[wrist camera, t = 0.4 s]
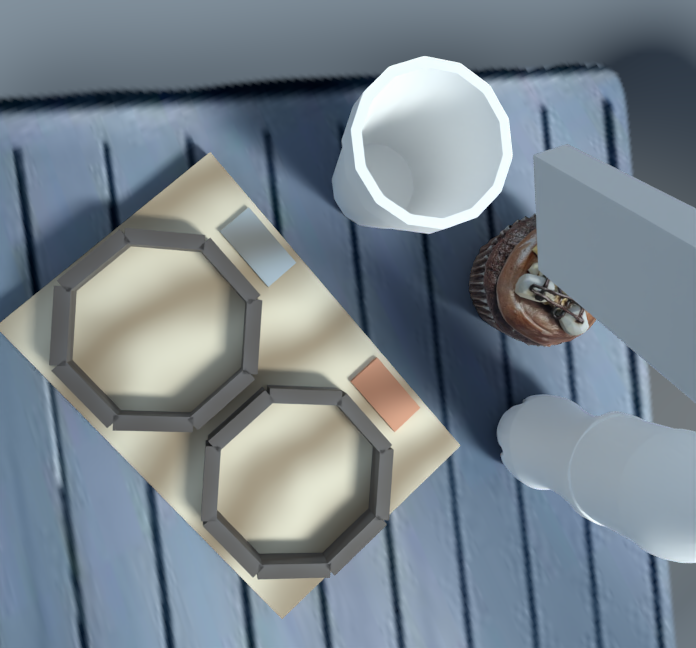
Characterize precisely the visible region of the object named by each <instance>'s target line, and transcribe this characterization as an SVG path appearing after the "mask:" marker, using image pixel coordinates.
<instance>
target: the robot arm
mask: <svg viewBox="0 0 696 648" xmlns="http://www.w3.org/2000/svg"><path fill="white" fill-rule="evenodd" d="M533 159H534V182H535V204H536V227H537V249H538V270H539V271H540V272H541V273H543V274H544V275H545V276H546V277H547V278H548V279H550V280H551V281H552V282H553V283H554V284H555V285H557V286H558V287H559V288H560V289H561V290H563V291H564V292H565V293H566V294H567V295H568V296H570V297H571V298H572V299H573V300H574V301H575V302H577V303H578V304H579V305H580V306H581V307H583V308H584V309H585V310H586V311H587V312H588V313H590V314H591V315H592V316H593V317H594V318H595V319H597V320H598V321H599V322H600V323H601V324H603V325H604V326H605V327H606V328H607V329H608V330H610V331H611V332H612V333H613V334H614V335H616V336H617V337H618V338H619V339H620V340H621V341H623V342H624V343H625V344H626V345H627V346H628V347H630V348H631V349H632V350H633V351H634V352H636V353H637V354H638V355H639V356H640V357H641V358H643V359H644V360H645V361H646V362H647V363H648V364H650V365H651V366H652V367H653V368H654V369H656V370H657V371H658V372H659V373H660V374H661V375H663V376H664V377H665V378H666V379H668V380H669V381H670V382H671V383H672V384H673V385H674V386H676V387H677V388H678V389H679V390H680V391H681V392H683V393H684V394H685V395H686V396H687V397H689V398H690V399H691V400H692V401H693V402H694V403H696V208H694V207H692V206H690V205H688V204H686V203H684V202H682V201H680V200H678V199H676V198H674V197H672V196H670V195H668V194H666V193H664V192H662V191H660V190H658V189H656V188H654V187H652V186H650V185H648V184H646V183H644V182H642V181H640V180H638V179H636V178H634V177H632V176H630V175H628V174H626V173H624V172H622V171H620V170H618V169H616V168H614V167H612V166H610V165H608V164H606V163H604V162H602V161H600V160H598V159H596V158H594V157H592V156H590V155H588V154H586V153H584V152H582V151H581V150H579V149H577V148H575V147H573V146H571V145H569V144H565V145H562V146H559V147H556V148H553V149H550V150H547V151H544V152H541V153H537V154H534V155H533Z"/></svg>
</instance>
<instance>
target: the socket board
mask: <svg viewBox="0 0 696 648" xmlns="http://www.w3.org/2000/svg"><path fill="white" fill-rule="evenodd" d="M0 332H1V333H2V334H3V335H4V336H5V337H6V338H7V339H8V340H9V341H10V342H11V343H12V344H13V345H14V346H15V347H16V348H17V349H18V350H19V351H20V352H21V353H22V354H23V355H24V356H25V357H26V358H27V359H28V360H29V361H30V362H31V363H32V364H33V365H34V366H35V367H36V368H37V369H38V370H39V371H40V372H41V374H42V375H43V376H44V377H45V378H46V379H47V380H48V381H49V382H50V383H51V384H52V385H53V386H54V387H55V388H56V389H57V390H58V391H59V392H60V393H61V394H62V395H63V396H64V397H65V398H66V399H67V400H68V401H69V402H70V403H71V404H72V405H73V406H74V407H75V408H76V409H77V410H78V411H79V412H80V413H81V414H82V415H83V416H84V417H85V418H86V419H87V420H88V421H89V422H90V424H91V425H92V426H93V427H94V428H95V429H96V430H97V431H98V432H99V433H100V434H101V435H102V436H103V437H104V438H105V439H106V440H107V441H108V442H109V443H110V444H111V445H112V446H113V447H114V448H115V449H116V450H117V451H118V452H119V453H120V454H121V455H122V456H123V457H124V458H125V459H126V460H127V461H128V462H129V463H130V464H131V465H132V466H133V467H134V468H135V469H136V470H137V471H138V472H139V474H140V475H141V476H142V477H143V478H144V479H145V480H146V481H147V482H148V483H149V484H150V485H151V486H152V487H153V488H154V489H155V490H156V491H157V492H158V493H159V494H160V495H161V496H162V497H163V498H164V499H165V500H166V501H167V502H168V503H169V504H170V505H171V506H172V507H173V508H174V509H175V510H176V511H177V512H178V513H179V514H180V515H181V516H182V517H183V518H184V519H185V520H186V521H187V523H188V524H189V525H190V526H191V527H192V528H193V529H194V530H195V531H196V532H197V533H198V534H199V535H200V536H201V537H202V538H203V539H204V540H205V541H206V542H207V543H208V544H209V545H210V546H211V547H212V548H213V549H214V550H215V551H216V552H217V553H218V554H219V555H220V556H221V557H222V558H223V559H224V560H225V561H226V562H227V563H228V564H229V565H230V566H231V567H232V568H233V569H234V570H235V571H236V573H237V574H238V575H239V576H240V577H241V578H242V579H243V580H244V581H245V582H246V583H247V584H248V585H249V586H250V587H251V588H252V589H253V590H254V591H255V592H256V593H257V594H258V595H259V596H260V597H261V598H262V599H263V600H264V601H265V602H266V603H267V604H268V605H269V606H270V607H271V608H272V609H273V610H274V611H275V612H276V613H277V614H278V615H279V616H280V617H281V618H282V619H283V618H284V617H285V616H286V615H287V614H288V613H289V612H290V611H291V610H292V609H293V608H294V607H295V606H296V605H297V604H298V603H299V602H300V601H301V600H302V599H303V598H304V597H305V596H306V595H307V594H308V593H309V592H310V591H311V590H312V589H313V588H315V587H316V586H317V585H318V584H319V583H320V582H321V581H322V580H323V579H324V578H330V572H332V573H333V574H334V575H336V574H337V573H338V572H339V571H340V570H341V569H342V568H343V567H344V566H345V565H346V564H347V563H348V562H349V561H350V560H351V559H352V558H353V557H354V556H355V555H356V554H357V553H358V552H359V551H360V550H361V549H362V548H363V547H365V546H366V545H367V544H368V543H369V542H370V541H371V540H372V539H373V538H374V537H375V536H376V535H377V534H378V533H379V532H380V531H381V530H382V529H383V528H384V527H385V526H386V525H387V524H386V523H385V522H384V521H383V520H389V515H390V514H391V513H392V512H393V511H394V510H395V509H396V508H397V507H398V506H399V505H400V504H401V503H402V502H403V501H404V500H405V499H406V498H407V497H408V496H409V495H410V494H411V493H412V492H413V491H414V490H415V489H416V488H417V487H418V486H419V485H420V484H421V483H423V482H424V481H425V480H426V479H427V478H428V477H429V476H430V475H431V474H432V473H433V472H434V471H435V470H436V469H437V468H438V467H439V466H440V465H441V464H442V463H443V462H444V461H445V460H446V459H447V458H448V457H449V456H450V455H451V454H452V453H453V452H454V451H455V450H456V449H457V448H459V447H460V445H459V443H458V442H457V441H456V440H455V439H454V438H453V436H452V435H451V434H450V433H449V432H448V431H447V429H446V428H445V427H444V426H443V425H442V424H441V422H440V421H439V420H438V419H437V418H436V417H435V415H434V414H433V413H432V412H431V411H430V409H429V408H428V407H427V406H426V405H425V404H424V402H423V401H422V400H421V399H420V398H419V397H418V395H417V394H416V393H415V392H414V391H413V390H412V388H411V387H410V386H409V385H408V384H407V382H406V381H405V380H404V379H403V378H402V377H401V375H400V374H399V373H398V372H397V371H396V370H395V368H394V367H393V366H392V365H391V364H390V363H389V361H388V360H387V359H386V358H385V357H384V356H383V354H382V353H381V352H380V351H379V350H378V348H377V347H376V346H375V345H374V344H373V343H372V341H371V340H370V339H369V338H368V337H367V336H366V334H365V333H364V332H363V331H362V330H361V329H360V327H359V326H358V325H357V324H356V323H355V321H354V320H353V319H352V318H351V317H350V316H349V314H348V313H347V312H346V311H345V310H344V309H343V307H342V306H341V305H340V304H339V303H338V302H337V300H336V299H335V298H334V297H333V296H332V295H331V293H330V292H329V291H328V290H327V289H326V287H325V286H324V285H323V284H322V283H321V282H320V280H319V279H318V278H317V277H316V276H315V275H314V273H313V272H312V271H311V270H310V269H309V268H308V266H307V265H306V264H305V263H304V262H303V261H302V259H301V258H300V257H299V256H298V255H297V253H296V252H295V251H294V250H293V249H292V248H291V246H290V245H289V244H288V243H287V242H286V241H285V239H284V238H283V237H282V236H281V235H280V234H279V232H278V231H277V230H276V229H275V228H274V226H273V225H272V224H271V223H270V222H269V221H268V219H267V218H266V217H265V216H264V215H263V214H262V212H261V211H260V210H259V209H258V208H257V207H256V205H255V204H254V203H253V202H252V201H251V200H250V198H249V197H248V196H247V195H246V194H245V192H244V191H243V190H242V189H241V188H240V187H239V185H238V184H237V183H236V182H235V181H234V180H233V178H232V177H231V176H230V175H229V174H228V173H227V171H226V170H225V169H224V168H223V167H222V165H221V164H220V163H219V162H218V161H217V160H216V158H215V157H214V156H213V155H212V154H211V153H208V154H207V155H206V156H205V157H203V158H202V159H201V160H200V161H198V162H197V163H196V164H195V165H194V166H192V167H191V168H190V169H189V170H187V171H186V172H185V173H184V174H182V175H181V176H180V177H179V178H178V179H176V180H175V181H174V182H173V183H171V184H170V185H169V186H168V187H166V188H165V189H164V190H163V191H162V192H160V193H159V194H158V195H157V196H155V197H154V198H153V199H152V200H150V201H149V202H148V203H147V204H146V205H144V206H143V207H142V208H141V209H139V210H138V211H137V212H136V213H134V214H133V215H132V216H131V217H130V218H128V219H127V220H126V221H125V222H123V223H122V224H121V225H120V226H118V227H117V228H116V229H115V230H114V231H112V232H111V233H110V234H109V235H107V236H106V237H105V238H104V239H102V240H101V241H100V242H99V243H98V244H96V245H95V246H94V247H93V248H91V249H90V250H89V251H88V252H86V253H85V254H84V255H83V256H82V257H80V258H79V259H78V260H77V261H75V262H74V263H73V264H72V265H70V266H69V267H68V268H67V269H66V270H64V271H63V272H62V273H61V274H59V275H58V276H57V277H56V278H54V279H53V280H52V281H51V282H50V283H48V284H47V285H46V286H45V287H43V288H42V289H41V290H40V291H38V292H37V293H36V294H35V295H34V296H32V297H31V298H30V299H29V300H27V301H26V302H25V303H24V304H22V305H21V306H20V307H19V308H18V309H16V310H15V311H14V312H13V313H11V314H10V315H9V316H8V317H6V318H5V319H4V320H3V321H2V322H0Z"/></svg>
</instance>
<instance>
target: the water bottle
mask: <svg viewBox="0 0 696 648" xmlns="http://www.w3.org/2000/svg"><path fill="white" fill-rule="evenodd" d="M497 439H498V443H499V445H500V446H501V448H502V450H503V452H502V453H501V454H500V455H501V459H502V462H503V464H504V465H505V467H506V468H507V469H508V471H509V472H510V473H511V474H512V475H513V476H514V477H515V478H517V479H518V480H520V481H521V482H522V483H524V484H525V485H527V486H529V487H531V488H534V489H538V490H549V489H550V490H552V491H554V492H556V493H558V494H559V495H561V496H562V497H563V498H564V499H565V500H566V501H567V502H568V503H569V504H570V505H571V506H572V508H573V509H574V510H575V511H576V512H577V513H578V514H580V515H581V516H583V517H585V518H586V519H588V520H590V521H592V522H594V523H596V524H598V525H601V526H605V527H607V528H609V529H611V530H613V531H614V532H616V533H618V534H620V535H622V536H624V537H625V538H627V539H629V540H631V541H633V542H634V543H635V544H636V545H638V546H639V547H640V548H641V549H643V550H644V551H646V552H648V553H650V554H652V555H655V556H657V557H660V558H662V559H666V560H670V561H675V562H681V563H696V432H695V431H690V430H687V429H674V428H671V427H667V426H663V425H659V424H656V423H652V422H648V421H644V420H643V419H641V418H639V417H636V416H633V415H630V414H626V413H622V412H609V413H606V414H603V415H601V416H594V415H592V414H590V413H588V412H586V411H585V410H584V409H582V408H581V407H580V406H579V405H577V404H576V403H574V402H572V401H571V400H568V399H566V398H563V397H560V396H555V395H547V394H541V395H532V396H529V397H527V398H526V399H523V403H522V404H519V405H515V406H513V407H511V408H510V409H509V410H507V411H506V412H505V413H504V414H503V416H502V417H501V419H500V421H499V424H498V427H497Z"/></svg>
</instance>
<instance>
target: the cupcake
mask: <svg viewBox="0 0 696 648" xmlns="http://www.w3.org/2000/svg"><path fill="white" fill-rule="evenodd" d="M469 292H470V296H471V299H472V301H473V305H474V306H475V308H476V310H477V312H478V314H479V316H480V317H481V318H482V319H483V320H484V321H486V322H487V323H488V324H490V325H491V326H493V327H494V328H496V329H497V330H499V331H501V332H503V333H505V334H506V335H508V336H510V337H512V338H514V339H516V340H518V341H522V342H524V343H526V344H527V345H537V346H538V347H539V346H545V347H546V346H548V347H550V346H551V345H558V344H561V343H564V342H567V341H571V340H573V339H574V338H576V337H578V336H580V335H581V334H583V333H585V332H586V331H587V330H588V329H589V328H590V327H591V326H592V325H593V323H594V322H595V321H596V319H595V318H594V317H593V316H592V315H591V314H590V313H588V312H587V311H586V310H585V309H584V308H583V307H581V306H580V305H579V304H578V303H577V302H575V301H574V300H573V299H572V298H571V297H570V296H568V295H567V294H566V293H565V292H564V291H563V290H561V289H560V288H559V287H558V286H557V285H555V284H554V283H553V282H552V281H551V280H550V279H548V278H547V277H546V276H545V275H544V274H543V273H541V272H540V271H539V270H538V249H537V227H536V214H534V215H532V216H531V217H530V218H528V217H526V216H525V217H524V218H523V219H522V220H517V221H516V222H515V223H514V224H513V225H512V226H511V225H508V226H507V227H506V228H505V229H504V230H502V231H501V232H500V234H499V235H498V236H496V237H494V238H493V239H491V240H490V241H489V242H488V244H486V245H484V246H482V247H481V248H480V253H479V255H477V256H476V259H475V261H474V263H473V267H472V269H471V273H470V281H469Z"/></svg>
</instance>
